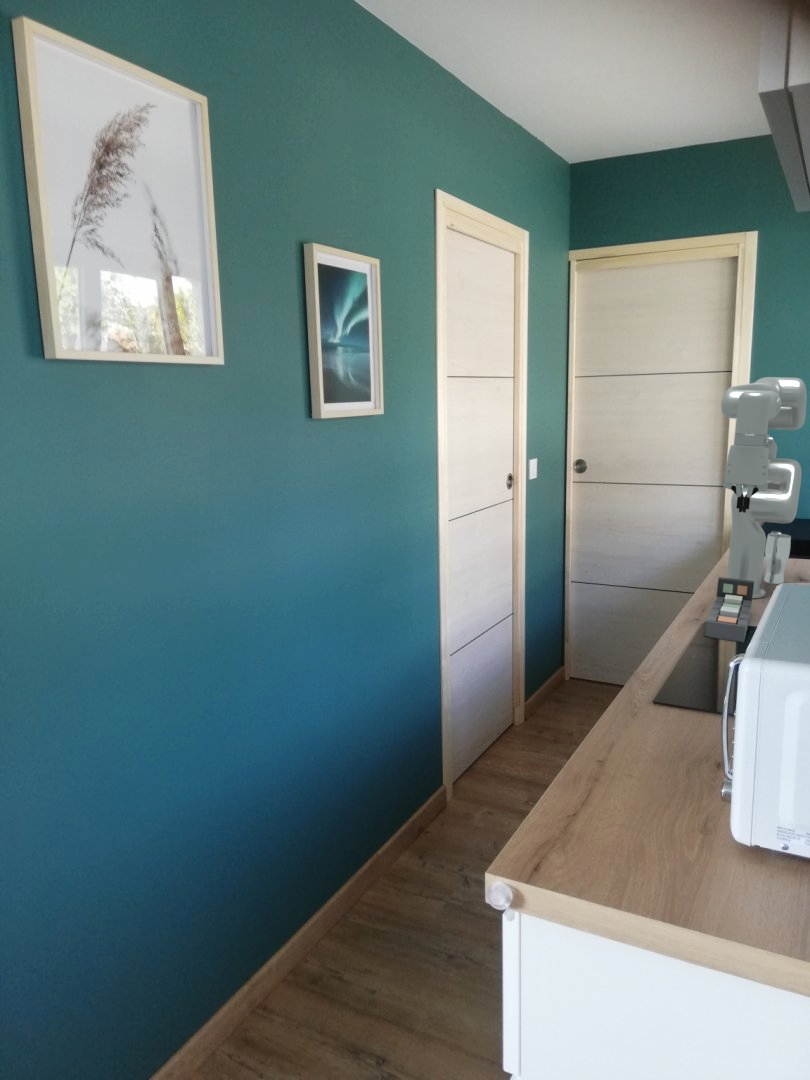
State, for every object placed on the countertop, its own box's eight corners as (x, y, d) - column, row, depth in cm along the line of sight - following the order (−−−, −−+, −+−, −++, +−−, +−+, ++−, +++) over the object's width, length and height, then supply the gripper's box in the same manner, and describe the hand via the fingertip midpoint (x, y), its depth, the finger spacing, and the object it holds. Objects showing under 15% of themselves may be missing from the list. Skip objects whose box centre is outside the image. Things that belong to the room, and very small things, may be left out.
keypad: (715, 608, 224) (719, 576, 222) (750, 612, 220) (754, 581, 218) (705, 636, 200) (708, 601, 198) (743, 642, 196) (747, 607, 194)
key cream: (725, 599, 220) (725, 594, 219) (741, 602, 218) (742, 596, 217) (723, 603, 216) (724, 598, 215) (740, 606, 214) (741, 600, 214)
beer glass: (788, 586, 248) (794, 538, 244) (764, 584, 249) (769, 537, 246) (782, 580, 254) (788, 534, 251) (759, 578, 256) (764, 532, 252)
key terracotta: (718, 621, 203) (719, 615, 203) (736, 624, 202) (736, 618, 201) (716, 626, 200) (717, 620, 199) (734, 629, 198) (735, 622, 198)
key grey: (721, 612, 209) (721, 606, 208) (738, 614, 207) (739, 608, 206) (719, 616, 205) (720, 610, 205) (737, 618, 203) (737, 612, 203)
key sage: (722, 608, 214) (723, 603, 214) (739, 611, 212) (740, 605, 212) (721, 613, 211) (722, 607, 210) (738, 615, 209) (739, 609, 208)
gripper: (782, 441, 205) (774, 512, 209) (720, 438, 211) (713, 506, 215) (781, 444, 198) (773, 516, 202) (717, 440, 205) (710, 511, 209)
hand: (742, 511), depth 209 cm, fingers closed
